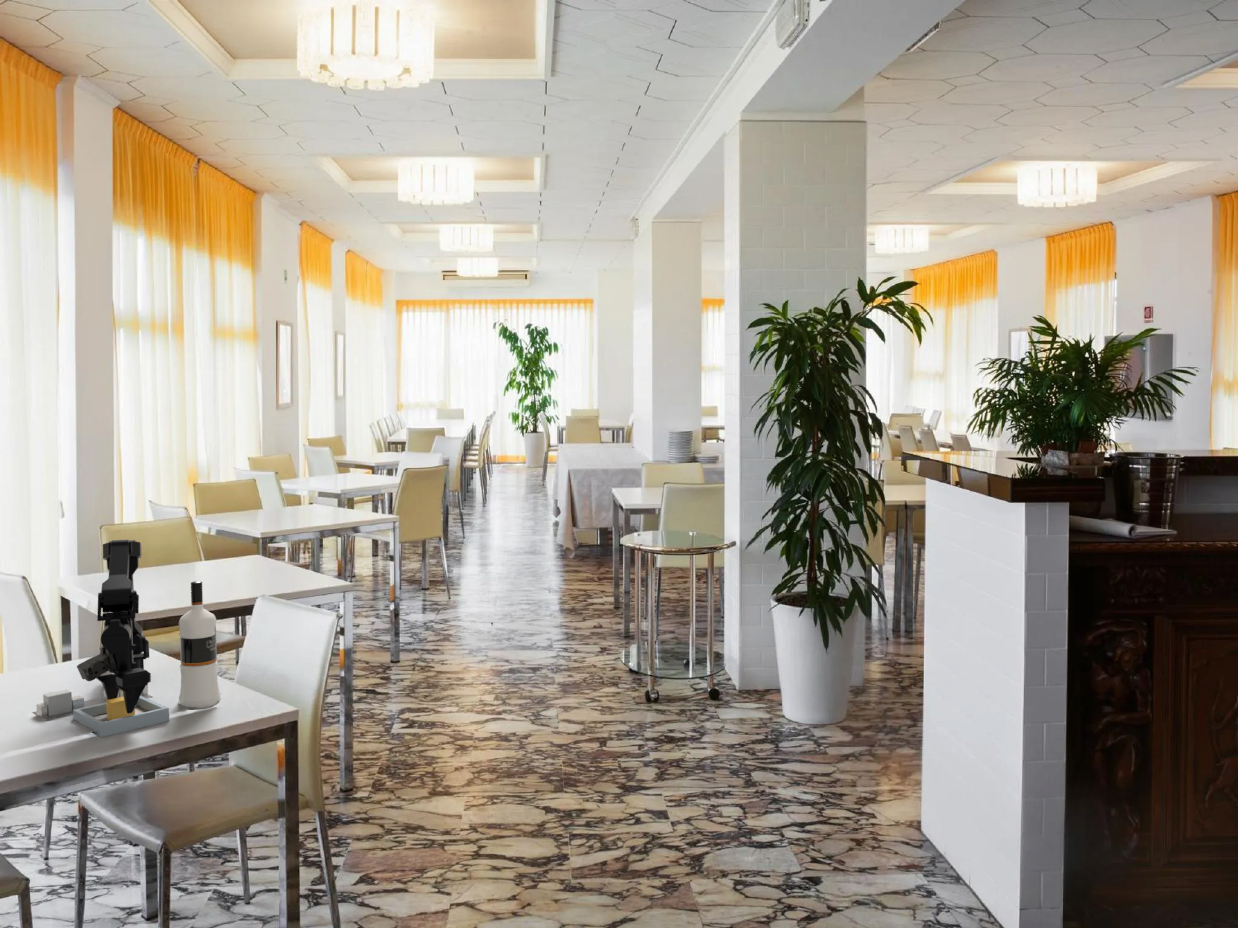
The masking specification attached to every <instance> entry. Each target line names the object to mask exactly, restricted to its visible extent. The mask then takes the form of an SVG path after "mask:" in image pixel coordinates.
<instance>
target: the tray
mask: <svg viewBox="0 0 1238 928" xmlns="http://www.w3.org/2000/svg"><path fill="white" fill-rule="evenodd" d="M136 706H138V707H140V708H142V709H144V710H147V711H145V712H139V713H135V715H131V716H127V717H122V718H118V719H114V720H105V721H102V720H100V719H98V718H97V717H94V716H98V715H101V714H107V707H106V703H102V704H98V705H93V706H89V707H84V708H79V709H75V710H73V715H72V717H73V718H72V719H73V720H75V721H76V722H79V723H81V724H82V725H84V726H86V727H87V728H90V729H92V730H93V731H90V733H92V734H94V735H95V736H97V737H99V738H104V737H109V736H113V735H117V734H121V733H125V731H126V732H129V730H130V731H133V730H138V729H141V728H145V727H144V726H146V727H149V726H153V725H154V726H155V725H158V724H162V723H166V722H170V708H169V707H167V706H166V705H163V704H161V703H158V702H157V701H154V700H151V699H150V698H145V697H143V696H140V697H139V699H138V702H137V704H136ZM136 706H135V707H136ZM137 728H138V729H137Z"/></svg>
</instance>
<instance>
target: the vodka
mask: <svg viewBox="0 0 1238 928" xmlns="http://www.w3.org/2000/svg"><path fill="white" fill-rule="evenodd" d="M203 596H204V595H203V582H202V581H199V580H194V581H192V582H190V598H191V599H190V601H191V603H190V604H191V609H190V610H188V611H187V612H186V613H184V614H183V615H182V616H180V618H179V621H178V629H179V633H178V634H179V643H180V646H179V647H180V665H179V669H180V692H179V695H178V705H180V706H182V707H187V708H188V707H190V708H188V710H189V711H190V710H192V711H193V710H194V711H195V710H205V709H209V708H212V707H215V706H217V704H219V703H220V700H221V692H220V688H219V682H218V680H219V679H218V664H219V663H218V661H217V660H218V659H217V658H218V657H217V653H218V652H217V651H218V650H217V627H216V626H217V617H216V615H215V614H214V613H212V612H210V611H209V610H208V609H205V608H204V602H203V601H204V599H203V598H204V597H203Z"/></svg>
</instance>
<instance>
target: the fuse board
mask: <svg viewBox="0 0 1238 928" xmlns="http://www.w3.org/2000/svg"><path fill="white" fill-rule="evenodd" d="M148 688H149V684H148V685H146V686H145V688H144V690H143V692H142V696H143V697H145V698H147V699H151V698H154V696H152V695H150V694H149V692H148V691H149V689H148ZM117 698H119V692H118V696H117ZM106 700H108V699H107V696H106V693H105V690H104V689H103V696H101V697H96V698H92V699H87V700H85V698H84V697H83V696H81V695H75V696H74V695H73V696H72V711H70V712H66V713H61V714H57V715H52V716H48V715H47V705H45V704H44V703H36V704H35V705H36V711H32V712H31V713H32V714H34V715H36V716H37V717H39V718H41V719H43V720H44V721H51V720H57V719H61V718H66V717H69V716H73V710H75V709H79V708H84V707H89V706H93V705H98V704H102V703H106Z"/></svg>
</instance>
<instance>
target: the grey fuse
mask: <svg viewBox="0 0 1238 928" xmlns="http://www.w3.org/2000/svg"><path fill="white" fill-rule="evenodd" d="M42 696H43V698H42V700H43V704H45V705H47V715H48V716H52V715H57V714H61V713H66V712H70V711H72V697H73V695H72V691H70V690H68V689H62V690H58V691H52V692H48V693H43V695H42Z"/></svg>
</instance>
